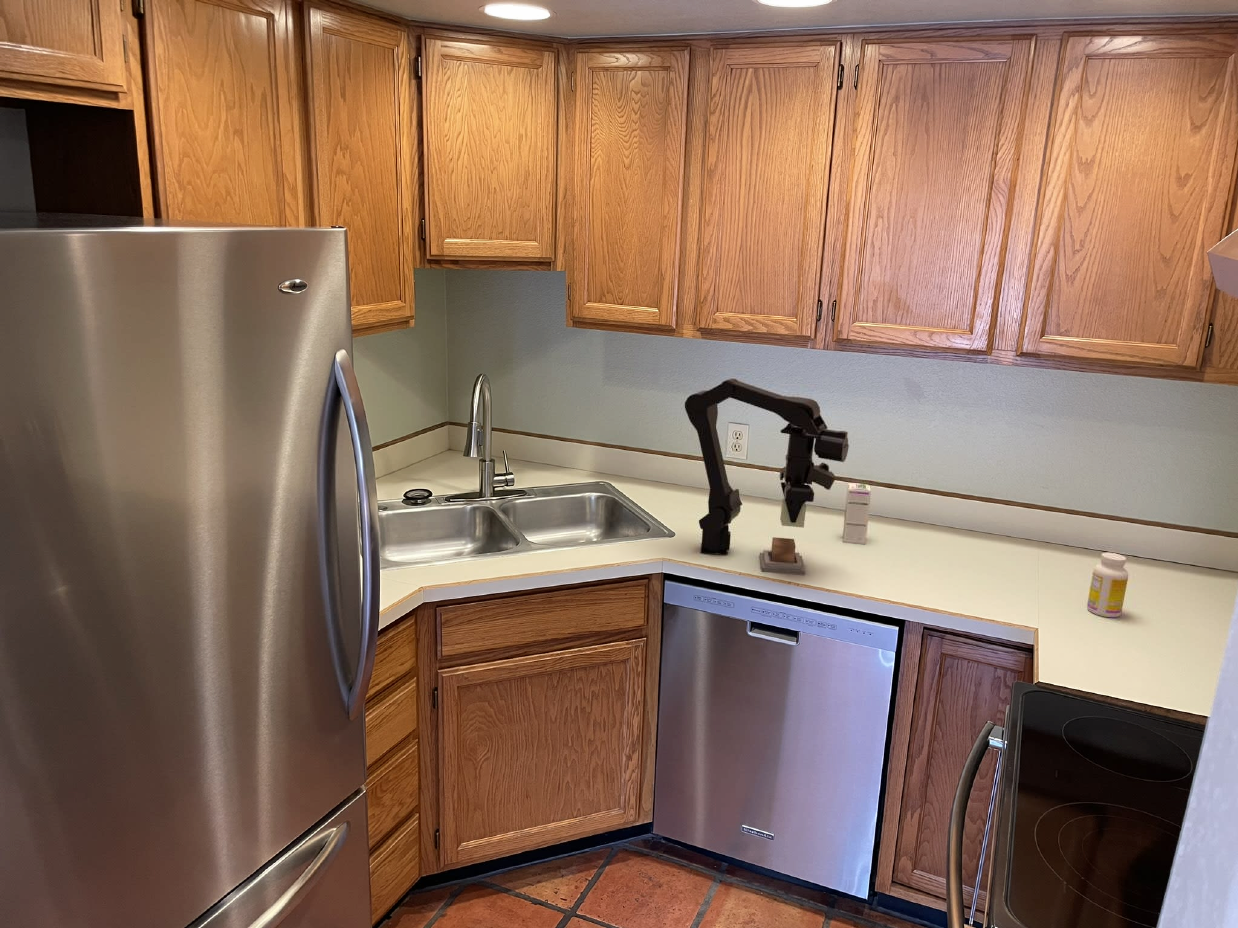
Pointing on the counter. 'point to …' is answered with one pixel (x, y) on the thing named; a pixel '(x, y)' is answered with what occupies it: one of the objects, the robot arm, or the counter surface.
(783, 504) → the sage block
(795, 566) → the base plate
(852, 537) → the syrup box
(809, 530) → the counter surface
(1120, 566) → the supplement bottle
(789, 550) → the walnut block
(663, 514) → the counter surface
